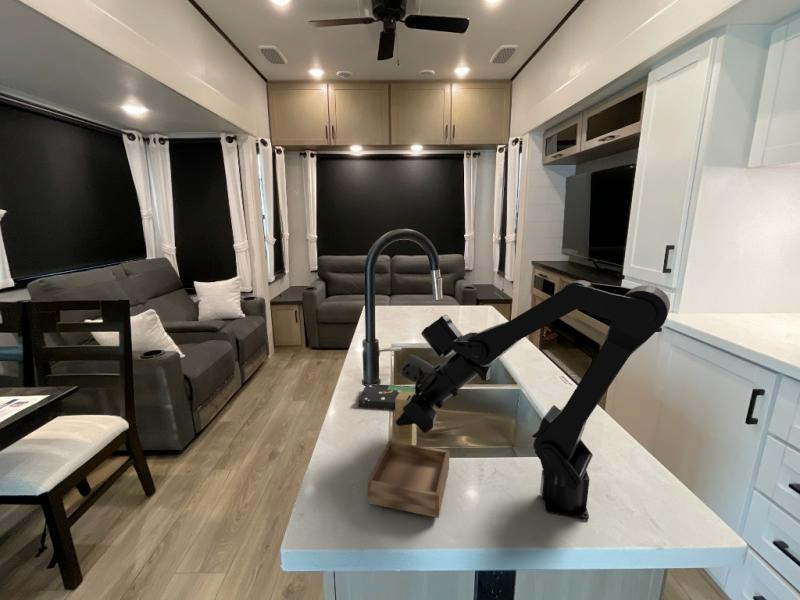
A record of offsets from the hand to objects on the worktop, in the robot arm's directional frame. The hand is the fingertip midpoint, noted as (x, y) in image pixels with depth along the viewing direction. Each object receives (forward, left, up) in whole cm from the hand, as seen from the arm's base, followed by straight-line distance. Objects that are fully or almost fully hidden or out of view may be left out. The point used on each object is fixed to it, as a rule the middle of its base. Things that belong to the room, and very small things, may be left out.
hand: (399, 418), depth 75 cm
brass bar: (-1, 0, -7) cm, 7 cm away
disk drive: (+9, -20, -7) cm, 23 cm away
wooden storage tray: (-5, +12, -7) cm, 15 cm away
